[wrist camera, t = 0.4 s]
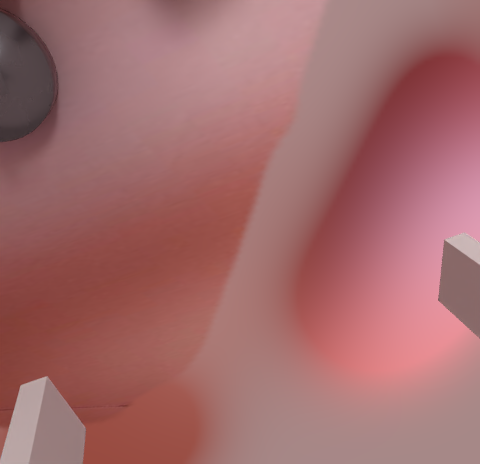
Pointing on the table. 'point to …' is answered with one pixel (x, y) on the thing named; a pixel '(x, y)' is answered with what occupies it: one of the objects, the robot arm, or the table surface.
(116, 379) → the table surface
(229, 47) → the table surface
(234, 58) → the table surface
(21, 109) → the ratchet
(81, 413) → the table surface
